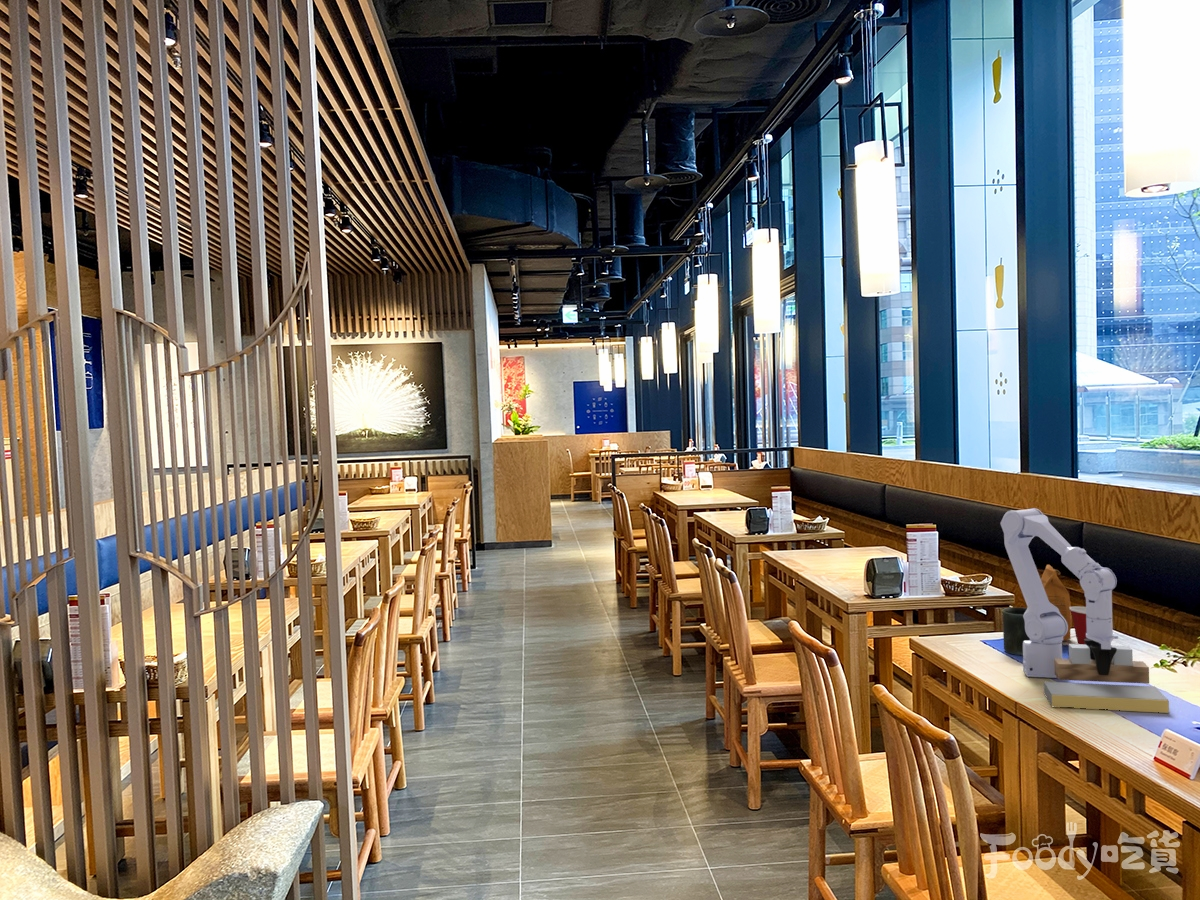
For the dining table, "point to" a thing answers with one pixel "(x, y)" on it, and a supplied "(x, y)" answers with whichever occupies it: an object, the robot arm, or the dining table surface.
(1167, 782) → the dining table surface
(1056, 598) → the coffee package
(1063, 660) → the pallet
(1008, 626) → the mug
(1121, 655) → the block
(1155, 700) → the dock
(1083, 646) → the block
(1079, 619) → the plastic cup
